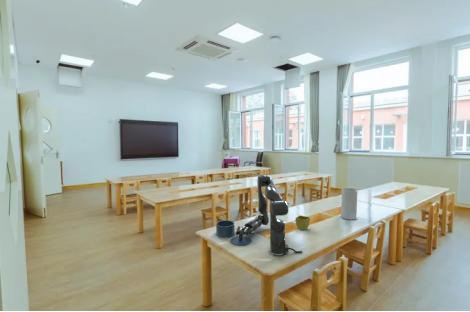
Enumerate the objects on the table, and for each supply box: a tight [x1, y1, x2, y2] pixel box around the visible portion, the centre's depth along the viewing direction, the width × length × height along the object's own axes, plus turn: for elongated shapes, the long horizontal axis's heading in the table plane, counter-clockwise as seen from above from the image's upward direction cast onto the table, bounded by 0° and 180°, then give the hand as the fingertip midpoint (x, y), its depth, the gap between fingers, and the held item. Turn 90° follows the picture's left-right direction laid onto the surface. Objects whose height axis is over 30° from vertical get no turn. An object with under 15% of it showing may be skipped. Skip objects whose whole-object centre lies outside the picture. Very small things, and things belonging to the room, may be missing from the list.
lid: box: [230, 230, 252, 247], centre depth 174 cm, size 14×14×8 cm
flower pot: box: [295, 215, 311, 231], centre depth 197 cm, size 9×9×9 cm
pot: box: [215, 219, 236, 239], centre depth 187 cm, size 13×13×8 cm
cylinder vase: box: [340, 187, 358, 221], centre depth 221 cm, size 12×12×25 cm
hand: (238, 234), depth 172 cm, fingers closed on lid, 2 cm apart
